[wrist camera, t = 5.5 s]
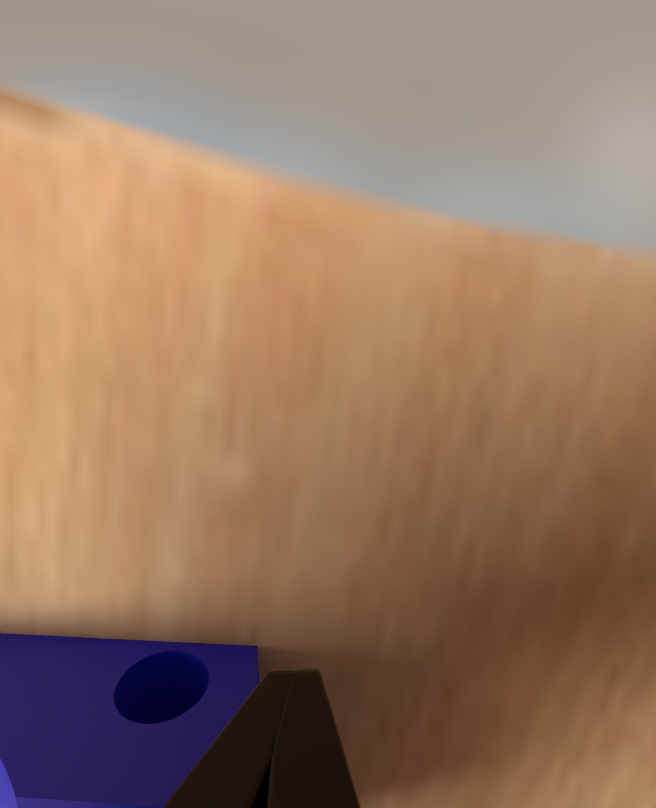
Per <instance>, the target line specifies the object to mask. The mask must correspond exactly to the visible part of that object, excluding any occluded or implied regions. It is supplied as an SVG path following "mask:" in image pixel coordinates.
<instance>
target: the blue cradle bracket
mask: <svg viewBox="0 0 656 808" xmlns="http://www.w3.org/2000/svg"><path fill="white" fill-rule="evenodd" d="M258 683H259V676H258V657H257V646H244V645H224V644H204V643H184V642H163V641H143V640H123V639H103V638H83V637H62V636H42V635H22V634H2V633H0V808H162V807H163V805H164V804H165V803H166V802H167V800H168V799H169V798H170V796H171V795H172V794H173V793H174V791H175V790H176V789H177V787H178V786H179V785H180V784H181V782H182V781H183V780H184V778H185V777H186V776H187V775H188V773H189V772H190V771H191V769H192V768H193V767H194V766H195V764H196V763H197V762H198V760H199V759H200V758H201V757H202V755H203V754H204V753H205V751H206V750H207V749H208V748H209V746H210V745H211V744H212V742H213V741H214V740H215V739H216V737H217V736H218V735H219V733H220V732H221V731H222V730H223V728H224V727H225V726H226V724H227V723H228V722H229V721H230V719H231V718H232V717H233V715H234V714H235V713H236V712H237V710H238V709H239V708H240V706H241V705H242V704H243V703H244V701H245V700H246V699H247V697H248V696H249V695H250V694H251V692H252V691H253V690H254V688H255V687H256V686H257V685H258Z"/></svg>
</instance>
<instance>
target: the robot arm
mask: <svg viewBox="0 0 656 808" xmlns="http://www.w3.org/2000/svg"><path fill="white" fill-rule="evenodd" d="M162 808H360V804H359V801H358V797H357V794H356V791H355V787H354V784H353V780H352V777H351V774H350V770H349V767H348V763H347V760H346V757H345V753H344V750H343V746H342V743H341V739H340V736H339V733H338V729H337V726H336V722H335V719H334V716H333V712H332V709H331V705H330V702H329V699H328V695H327V692H326V688H325V685H324V682H323V678H322V675H321V672H320V670H319V669H317V668H304V669H272V670H270V671H268V672H267V673H266V674H265V676H264V677H263V678H262V679H261V681H260V682H259V683H258V685H257V686H256V687H255V688H254V690H253V691H252V692H251V694H250V695H249V696H248V697H247V699H246V700H245V701H244V703H243V704H242V705H241V706H240V708H239V709H238V710H237V712H236V713H235V714H234V715H233V717H232V718H231V719H230V721H229V722H228V723H227V724H226V726H225V727H224V728H223V730H222V731H221V732H220V733H219V735H218V736H217V737H216V739H215V740H214V741H213V742H212V744H211V745H210V746H209V748H208V749H207V750H206V751H205V753H204V754H203V755H202V757H201V758H200V759H199V760H198V762H197V763H196V764H195V766H194V767H193V768H192V769H191V771H190V772H189V773H188V775H187V776H186V777H185V778H184V780H183V781H182V782H181V784H180V785H179V786H178V787H177V789H176V790H175V791H174V793H173V794H172V795H171V796H170V798H169V799H168V800H167V802H166V803H165V804H164V805H163V807H162Z"/></svg>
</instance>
